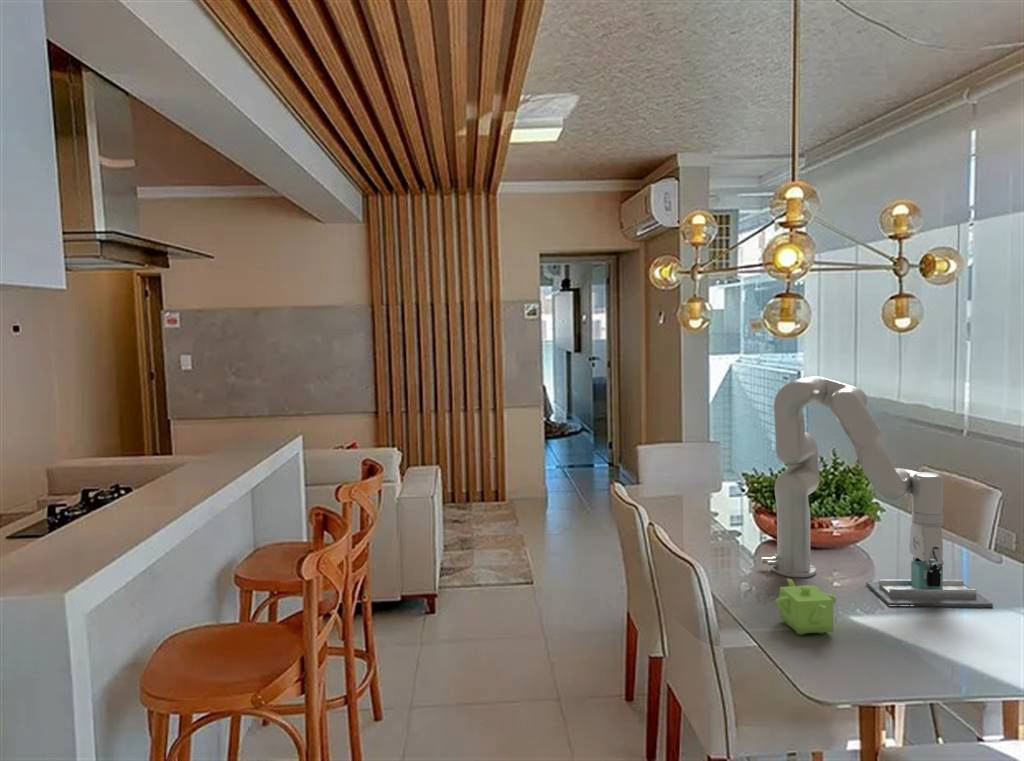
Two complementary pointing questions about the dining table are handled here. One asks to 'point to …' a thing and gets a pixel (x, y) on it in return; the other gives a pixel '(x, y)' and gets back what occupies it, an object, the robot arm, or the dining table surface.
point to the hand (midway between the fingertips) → (926, 580)
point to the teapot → (806, 608)
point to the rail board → (928, 594)
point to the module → (922, 575)
